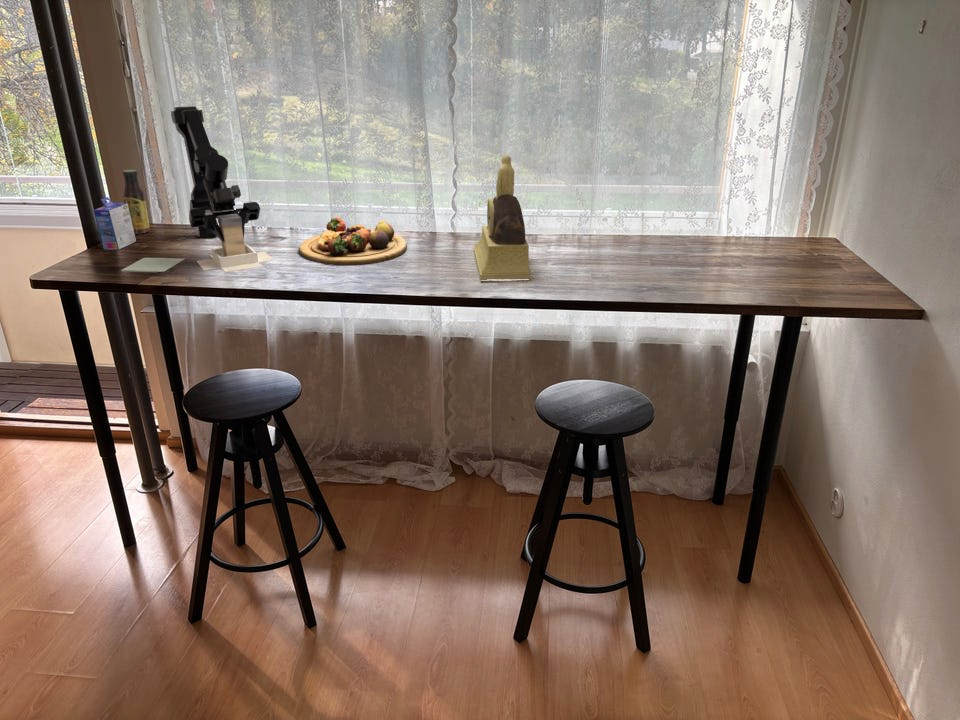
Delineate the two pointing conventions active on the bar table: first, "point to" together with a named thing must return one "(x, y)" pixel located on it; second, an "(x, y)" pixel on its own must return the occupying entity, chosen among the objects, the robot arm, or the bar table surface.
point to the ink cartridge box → (114, 225)
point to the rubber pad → (152, 265)
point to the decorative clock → (503, 233)
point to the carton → (234, 260)
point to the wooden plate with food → (353, 244)
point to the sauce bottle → (135, 202)
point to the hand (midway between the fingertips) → (233, 239)
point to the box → (231, 234)
